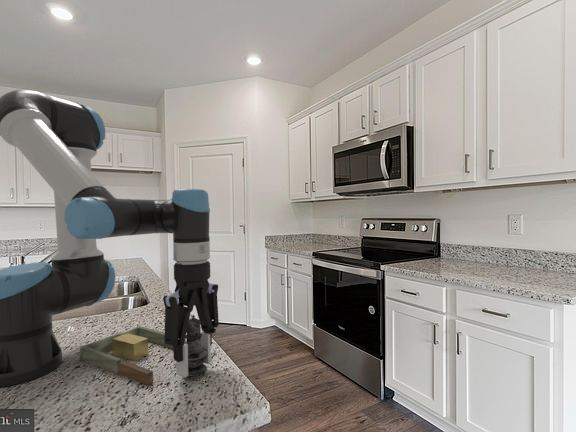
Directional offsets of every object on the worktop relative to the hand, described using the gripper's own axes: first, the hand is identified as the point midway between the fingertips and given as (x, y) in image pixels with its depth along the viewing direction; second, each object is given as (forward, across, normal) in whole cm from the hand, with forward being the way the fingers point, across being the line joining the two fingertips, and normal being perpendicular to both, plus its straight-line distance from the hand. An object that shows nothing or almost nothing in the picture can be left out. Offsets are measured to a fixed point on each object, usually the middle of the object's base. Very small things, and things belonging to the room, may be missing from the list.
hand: (194, 368), depth 70 cm
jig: (+1, 0, +17) cm, 18 cm away
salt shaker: (+1, 0, 0) cm, 1 cm away
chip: (+2, 0, +24) cm, 24 cm away
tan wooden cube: (+2, 0, +20) cm, 20 cm away
